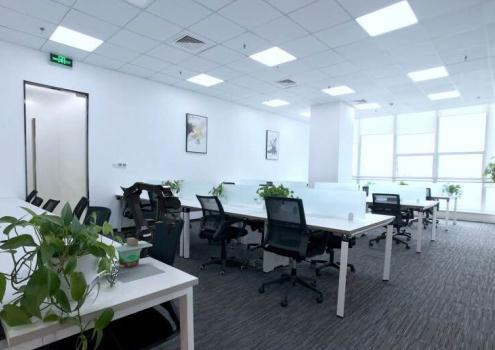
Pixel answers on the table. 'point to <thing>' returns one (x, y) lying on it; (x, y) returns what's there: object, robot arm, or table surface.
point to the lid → (132, 245)
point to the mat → (138, 273)
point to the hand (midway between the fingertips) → (161, 237)
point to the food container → (129, 258)
